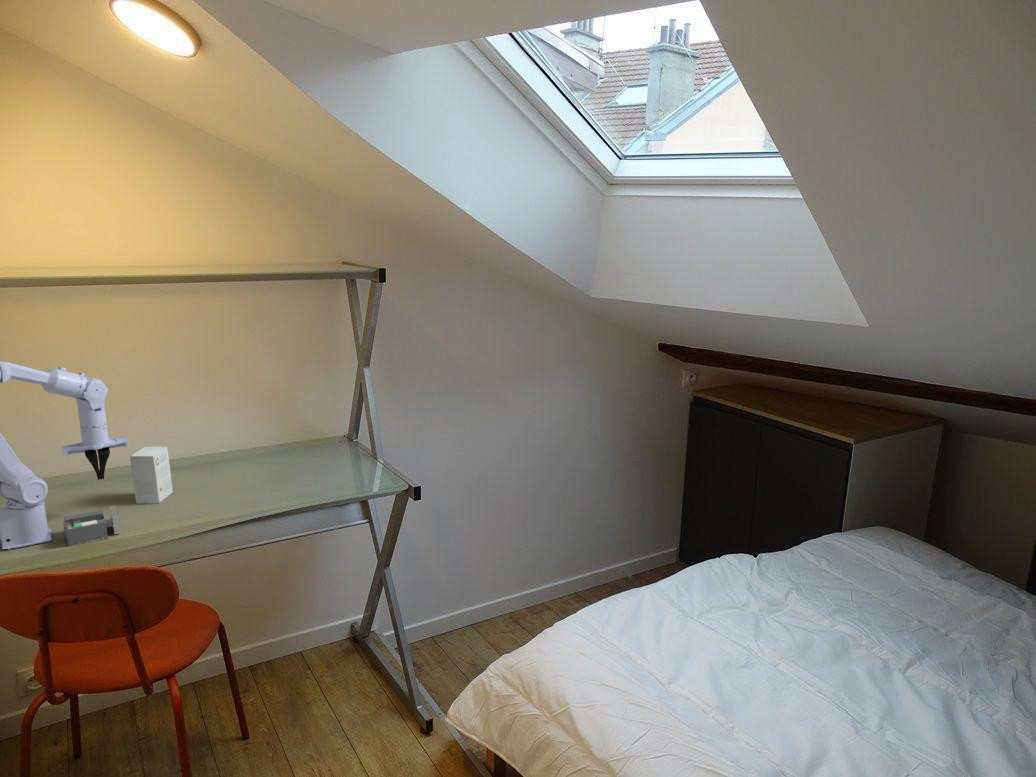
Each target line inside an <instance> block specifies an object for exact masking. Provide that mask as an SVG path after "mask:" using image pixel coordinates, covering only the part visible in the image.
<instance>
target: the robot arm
mask: <svg viewBox="0 0 1036 777" xmlns="http://www.w3.org/2000/svg"><path fill="white" fill-rule="evenodd" d="M10 380H16V381H21V382H26V383H29V384H31V383H32V384H36V385H40V386H41V387H42V389H43V390H44V392H46V393H49V394H54V395H59V396H64V397H67V398H73V399H75V400H76V405H77V413H78V419H79V426H80V427H79V428H80V435H81V442H78V443H77V442H76V443H73V444H68V445H63V446H61V451H62V456H64V457H66V456H69V455H75V454H80V453H82V454H83V453H84V455H85V457H86V459H87V460H88V461H89V463H90V465H91V466H92V468H93V470H94V473H95V474H96V478H97V480H98V481H99V480H104V479H105V472H106V467H107V463H108V459H109V457H110V454H111V451H110V449H115V448H121V447H125V448H127V447H130V446H131V442H130V438H129V437H128V436H124V437H112V438H111V437H109V432H108V431H109V430H108V422H107V415H106V409H105V408H106V407H105V405H106V403H105V399H106V397H107V395H108V393H109V392H108V391H109V390H108V389H109V388H108V387H107V386H106V384H105V382H104V381H103V380H102V379H101V378H97V377H92V376H86V374H85V373H83V372H78V373H75V372H72V371H67V368H65V367H62V366H58V367H57V368H55V367H52V368H50V369H48V370H46V371H42V370H39V369H35V368H32V367H28V366H24V365H20V364H16V363H12V362H9V361H3V360H0V383H2V384H4V383H6V382H7V381H10ZM48 492H49V487H48V485H47V482H46V481H45V480H44V479H42V478H39V477H38V476H36V474H35V473H34V472H33V471H32V470H31V469H30V468H28V467H27V466H26V465H25V464H23V463H22V461H21V460H20V459H19V457H18V456H17V455H16V453H15V452H14V450H13V448H12V447H11V446H10V445H9V443H8V441H7V440H6V439H5V437H4V436H3V434H2V433H1V432H0V495H1V497H3V498H5V499H6V504H5V505H4V506H1V507H0V543H1V546H2V548H1V549H2V550H3V549H8V550H13V549H18V548H23V547H27V546H28V547H29V546H32V545H34V546H35V545H38V544H43V543H44V544H45V543H48V542H49V543H50V542H51V541H53V540H52V530H51V527H49V525H48V519H47V517H48V516H47V512H46V511H47V510H46V507H45V499H46V497H47V496H48ZM12 548H13V549H12Z"/></svg>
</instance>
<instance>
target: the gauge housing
mask: <svg viewBox="0 0 1036 777" xmlns="http://www.w3.org/2000/svg"><path fill="white" fill-rule="evenodd" d="M70 519H73V520H78V519H80V520H81V523H76V524H74V526H71V525H68V526H65V527H66V534H67V540H66V541H67V546H69V547H72V546H71V545H74V546H76V545H75V544H78V545H80V544H79V543H83V542H87V541H91V540H97V539H102V538H107V537H108V538H109V536H108V527H106V521H105V520H106V518H105V517H104V512H103V509H100V510H99V509H98V510H93V511H89V512H83V513H78V514H72V515H68V516H67V515H66V516H63V521H64V522H68V521H70ZM83 544H84V543H83Z"/></svg>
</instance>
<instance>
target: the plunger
mask: <svg viewBox="0 0 1036 777" xmlns="http://www.w3.org/2000/svg"><path fill="white" fill-rule="evenodd" d="M108 509H109V516H110V519H105V521H106V527H107V528H109V527H112V531H113V533H114V535H117V534H118V535H119V534H121V528H120V523H119V520H120V519H119V514H118V512H117V509H116V506H115V505H111V506H109V507H108ZM76 523H81V520H80V519H78V520H73V519H70V521H68V522H62V526H63V532H64V537H65V541H67V534H66V527H65V526H68V525H71V526H74V524H76Z"/></svg>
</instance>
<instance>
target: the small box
mask: <svg viewBox="0 0 1036 777" xmlns="http://www.w3.org/2000/svg"><path fill="white" fill-rule="evenodd" d="M168 448H169V447H168V446H144V447H142V448H141V449H138V450H137V451H136V452H135V453H133V454H131V455H130V456H129V459H130V467H131V468H130V469H131V476H132V480H133V488H134V495H135V503H136V504H138V505H139V504H161V502H163V501H164V500H165V499H166V498H167V497H169V496H170V495H171V494H173V492H174V491H173V482H172V475H171V466H170V457H169V450H168Z"/></svg>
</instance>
